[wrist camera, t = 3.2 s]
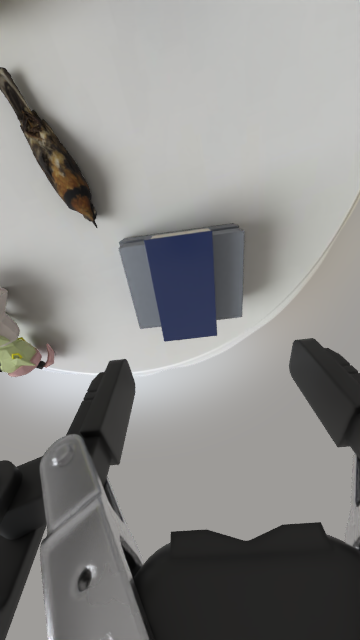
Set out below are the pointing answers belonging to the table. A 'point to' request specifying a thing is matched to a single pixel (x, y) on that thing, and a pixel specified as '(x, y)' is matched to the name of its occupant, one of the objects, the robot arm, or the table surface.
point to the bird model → (50, 152)
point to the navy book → (183, 282)
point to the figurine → (17, 346)
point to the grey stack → (225, 274)
